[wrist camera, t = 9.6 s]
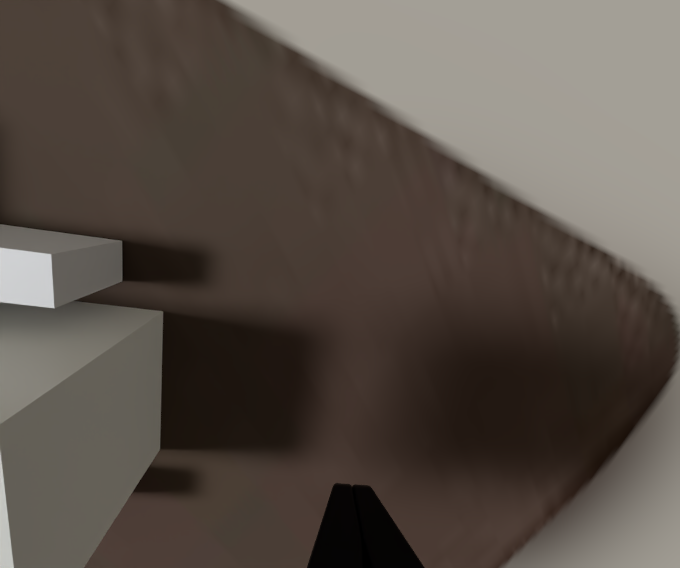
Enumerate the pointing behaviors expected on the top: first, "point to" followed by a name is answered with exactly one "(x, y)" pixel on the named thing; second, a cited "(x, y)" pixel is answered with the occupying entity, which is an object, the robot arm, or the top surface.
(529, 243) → the top surface
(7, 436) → the white lidded box
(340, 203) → the top surface
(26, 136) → the top surface
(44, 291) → the green block with prongs
